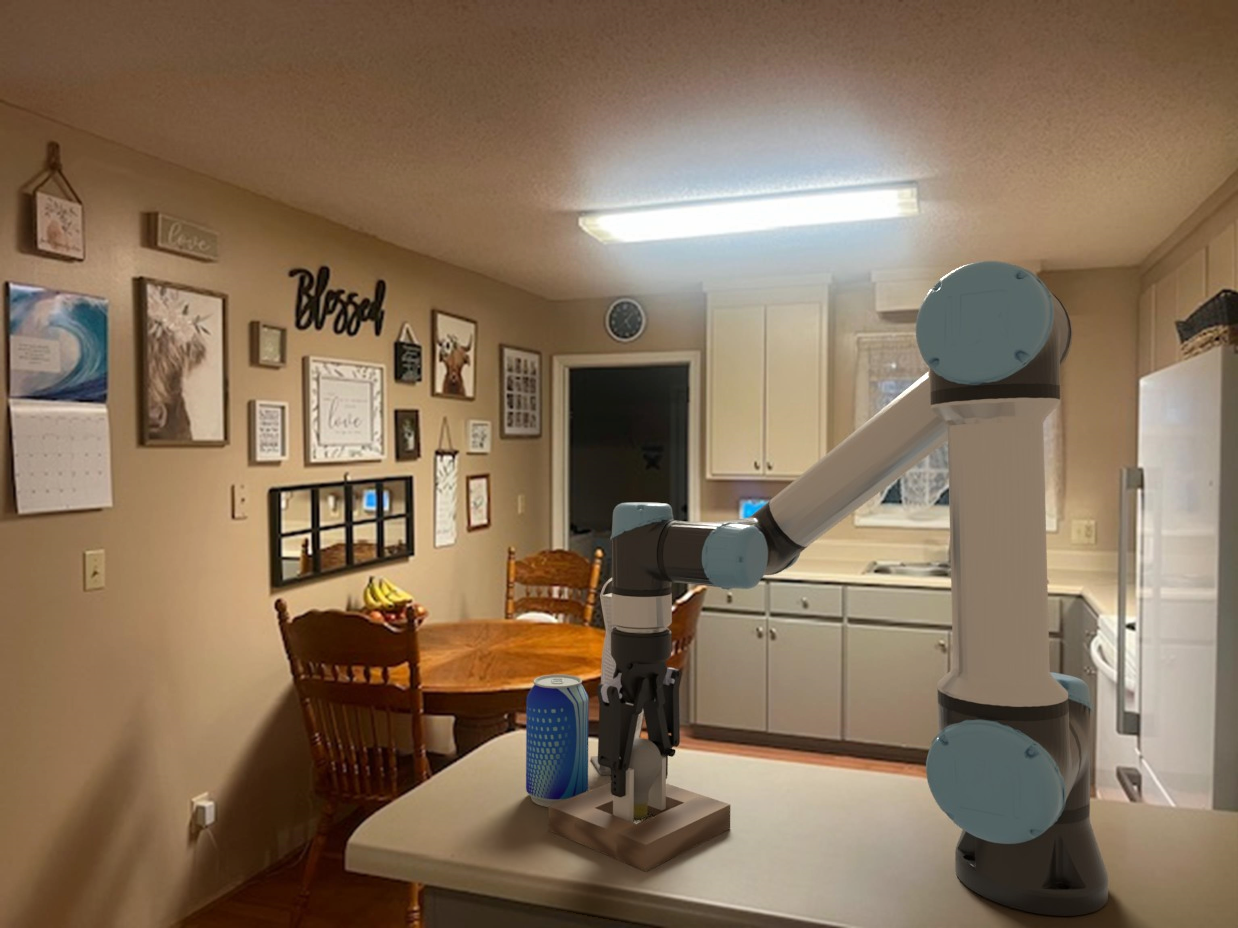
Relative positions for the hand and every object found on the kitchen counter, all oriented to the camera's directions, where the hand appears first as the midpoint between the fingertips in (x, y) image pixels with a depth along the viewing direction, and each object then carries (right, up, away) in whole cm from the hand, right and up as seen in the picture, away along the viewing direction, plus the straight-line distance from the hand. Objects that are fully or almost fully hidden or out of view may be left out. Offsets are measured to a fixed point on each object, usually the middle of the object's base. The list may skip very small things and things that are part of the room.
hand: (639, 812), depth 110 cm
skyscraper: (-2, -2, +24) cm, 24 cm away
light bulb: (0, -1, 0) cm, 1 cm away
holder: (0, -2, 0) cm, 2 cm away
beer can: (-11, -2, +10) cm, 15 cm away
